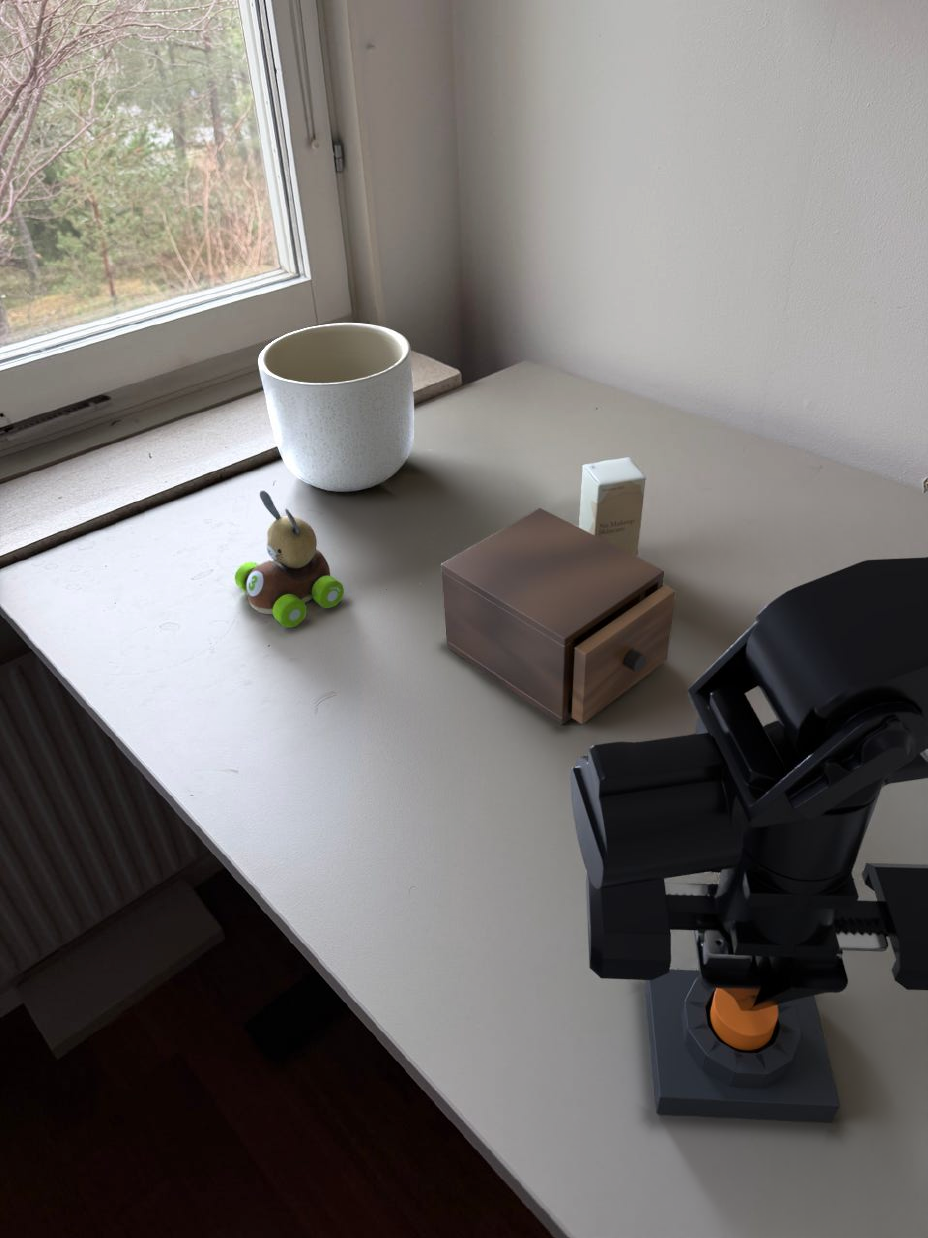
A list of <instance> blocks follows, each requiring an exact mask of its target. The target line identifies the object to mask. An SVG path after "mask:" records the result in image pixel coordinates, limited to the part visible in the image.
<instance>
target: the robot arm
mask: <svg viewBox="0 0 928 1238" xmlns="http://www.w3.org/2000/svg"><path fill="white" fill-rule="evenodd" d="M757 687H758V688H759V689H760V691H761V693H762V695H763V696H764V699H765V700H766V702H767V704H768V705H769V707H770V709H771V710H772V713H773V715H775V717H776V719H777V720H775V721H772V722H770V723H767V724H765V725H764V724H762V721H761V720H760V718H759V717H758V715H757V713H756V711H755V709H754V707H753V706H752V704H751V702H750V700H749V698H748V697H747V695H746V693H748V692H750V691H752V690H753V689H755V688H757ZM686 695H687V697H688V699H689V701H690V704H691V706H692V707H693V710H694V712H695V713H696V714H695V715H697V719H696V726H695V732H694V733H693V734H684V735H677V736H670V737H663V738H655V739H649V740H643V741H613V742H605V743H598V744H593V745H591V746H590V747H589V748H588V755H584V756H579V757H578V758H577V760H576V764H575V766H571V768H570V794H571V795H570V796H571V804H572V813H573V821H574V826H575V831H576V837H577V843H578V847H579V850H580V855H581V858H582V861H583V864H584V868H585V870H586V877H585V890H586V891H585V894H586V896H585V897H586V917H587V918H586V919H587V941H588V942H587V943H588V964H589V969H590V970H591V971H592V972H593V973H594V974H595V975H597V977H599V978H600V979H605V980H606V979H607V980H635V981H646V980H654V979H656V978H658V977H660V976H662V975H665V974H667V973H669V970H670V969H671V963H672V931H693V935H694V943H695V950H696V957H697V965H698V970H699V972H700V978H701V980H702V982H703V983H704V984H705V985H706V986H708V987H710V988H720V989H723V990H724V991H726V992H727V993H728V994H729V995H731V996H732V997H733V998H734V999H735V1001H736V1002H737V1004H738V1006H739V1008H740V1010H741V1011H748V1010H749V1011H758V1010H761V1009H764V1008H768V1007H771V1006H775V1005H778V1004H781V1003H785V1002H789V1001H792V1000H796V999H801V998H805V997H810V996H814V997H815V996H818V995H822V994H828V993H829V994H830V993H832V994H833V993H834V994H837V993H839V994H840V993H842V992H844V991H845V990H846V988H847V986H848V984H849V978H848V974H847V970H846V967H845V964H844V963H845V962H844V960H843V954H844V951H847V952H848V951H849V952H850V951H851V952H876V953H877V952H879V953H880V952H881V953H884V952H886V951H887V950H888V948H889V942H890V946H891V948H892V952H893V954H894V957H895V961H894V963H893V965H892V968H891V973H892V976H893V979H894V982H896V983H897V984H899V986H901V987H903V989H905V990H907V991H927V992H928V864H926V863H925V864H922V863H921V864H920V863H919V864H918V863H885V862H884V863H883V862H865V865H864V867H863V871H862V873H861V877H862V881H863V883H864V885H865V886H867V887H868V888H869V889H871V890H872V891H873V893H874V895H875V898H876V900H859V898H860V896H859V892H858V888H857V886H856V883H855V882H856V881H855V880H854V876H853V870H854V867H855V865H856V861H857V859H858V855H859V853H860V849H861V847H862V845H863V842H864V838H865V836H866V833H867V830H868V827H869V824H870V822H871V819H872V816H873V814H874V811H875V808H876V805H877V802H878V800H879V796H880V794H881V791H882V789H883V788H884V787H886V786H887V785H891V784H898V783H904V782H911V781H917V780H924V779H928V753H927V750H928V556H927V557H908V558H907V557H901V558H881V559H880V558H879V559H878V558H877V559H865V560H862V561H860V562H857V563H855V564H854V563H853V564H852V565H849V566H846V567H844V568H841V569H838V570H836V571H834V572H830V573H828V574H827V575H824V576H820V577H819V578H815V579H812V580H810V581H808V582H805V583H803V584H800V585H798V586H795V587H793V588H791V589H789V590H787V591H785V592H783V593H782V594H781V595H779V596H777V597H775V598H774V599H773V600H772V601H770V602H768V604H766V605H765V606H764V608H763V609H762V610H760V611H759V612H758V613H757V615H756V617H755V622H754V623H753V624H751V626H750V627H748V629H746V631H744V632H743V633H742V634H741V636H739V638H737V640H736V641H734V643H732V644H731V646H729V647H728V649H726V650H725V651H724V652H723V653H722V654H721V655H720V656H719V657H718V658H717V659H716V660H715V662H714V663H712V664H711V665H710V666H709V667H708V668H707V669H706V670H705V671H704V672H703V673H702V674H701V675H700V676H699V677H698V678H697V679H696V680H695V681H694V682H693V683H692V684H691V685H690V686H689V687H688V689H687V690H686ZM703 873H715V874H716V873H719V878H718V883H702V882H701V883H700V882H699V883H698V882H665V879H670V878H672V879H673V878H677V877H678V878H679V877H683V876H690V875H697V874H703ZM888 938H889V940H888ZM888 941H889V942H888Z"/></svg>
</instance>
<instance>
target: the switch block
mask: <svg viewBox="0 0 928 1238" xmlns="http://www.w3.org/2000/svg"><path fill="white" fill-rule="evenodd" d="M716 989H717V988H710V987H708V986H706V985H705V984H704V983H703V982H702V980H701V978H700V972H699V969H697V970H695V969H675V968H673V969H671V968H670V970H669V973H667V974H665V975H662V976H660V977H658V978H656V979H654V980H645V984H644V991H645V992H644V993H645V1001H646V1002H645V1004H646V1015H647V1025H648V1035H649V1036H648V1037H649V1048H650V1049H649V1050H650V1057H651V1058H650V1059H651V1060H650V1061H651V1070H652V1071H651V1072H652V1079H653V1080H652V1081H653V1091H654V1103H655V1113H656V1114H657V1115H665V1116H666V1115H667V1116H668V1115H670V1116H688V1117H708V1118H709V1117H710V1118H726V1119H727V1118H728V1119H747V1120H749V1119H750V1120H769V1121H787V1122H788V1121H790V1122H807V1123H810V1122H811V1123H826V1124H827V1123H828V1124H829V1123H830V1124H832V1123H833V1122H834V1120H835V1118H836V1115H837V1114H838V1112H839V1110H840V1107H841V1103H840V1099H839V1095H838V1090H837V1087H836V1081H835V1079H834V1074H833V1070H832V1065H831V1061H830V1057H829V1052H828V1049H827V1044H826V1040H825V1037H824V1032H823V1028H822V1023H821V1020H820V1014H819V1011H818V1006H817V1002H816V999H815V998H816V997H815V995H814V996H810V997H805V998H801V999H796V1000H792V1001H789V1002H785V1003H781V1004H778V1005H777V1006H778V1019H777V1022H776V1025H775V1028H774V1031H773V1034H772V1037H771V1039H770V1040H769V1042H768V1043H767V1044H766V1045H764V1046H763V1047H761V1048H759V1049H756V1050H740V1049H737V1048H734V1047H732V1046H730V1045H728V1044H727V1043H725V1042H724V1041H723V1040H722V1039H721V1038H720V1037H719V1036H718V1035H717V1033H716V1032H715V1030H714V1028H713V1026H712V1023H711V1019H710V1011H711V1007H712V1003H713V999H714V994H715V991H716Z"/></svg>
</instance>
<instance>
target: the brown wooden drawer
mask: <svg viewBox="0 0 928 1238" xmlns="http://www.w3.org/2000/svg"><path fill="white" fill-rule="evenodd" d="M645 594H646V591H644V592H643V593H641V594H640V595H638V596H637V597H636V598H634V599H633V600H631V601H630V602H628V603H627V604H625V605H624V606H623V607H621V608H620V609H618V610H617V611H615V612H614V613H612V614H611V615H609V616H608V617H607V618H605V619H604V620H602V621H601V622H599V623H598V624H596V625H595V626H594V627H592V628H591V629H589V630H588V631H586V632H585V633H583V634H582V635H580V636H579V637H578V638H576V639H575V640H573V641H572V642H571V653H570V678H569V700H570V699H571V698H573V699H572V718H571V719H573V720H574V721H576V722H578V723H579V724H580V725H584V724H585V723H586V722H588V721H589V720H590V719H591V718H593V717H594V716H596V715H597V714H598V713H599V712H601V711H602V710H603V709H605V708H606V707H608V705H610V704H611V703H613V701H615V700H616V699H617V698H619V697H620V696H621V695H623V694H624V693H626V692H627V691H628V690H630V689H631V688H632V687H633V686H635V685H636V684H638V683H639V682H640V681H641V680H642V679H643V678H645V677H646V676H648V675H649V674H650V673H652V672H653V671H654V670H656V668H659V667H660V666H661V665H662V664H664V663H665V662H666V661H667V660H668V656H669V655H668V654H669V646H670V640H671V639H670V638H671V632H672V631H671V630H672V622H673V614H674V607H675V598H676V590H675V589H673V588H671V587H670V586H667V585H665V584H663V586H662V587H661V588H659V589H658V590H657V591H655V592H654V593H652V594H651V595H649V596H648V597H647V598H645Z"/></svg>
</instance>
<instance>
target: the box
mask: <svg viewBox="0 0 928 1238" xmlns="http://www.w3.org/2000/svg"><path fill="white" fill-rule="evenodd" d="M637 465H638V464H636V463H635V462H634V461H633V459H632V458H631V457H628V456H627V457H621V458H615V459H606V460H602V461H597V462H591V463H586V464H585V463H584V464H583V465H582V470H581V472H582V473H581V475H582V476H581V485H580V486H581V488H580V502H579V503H580V504H579V519H578V527H579V528H581V529H583V530H585V531H587V532H589V533H591V534H593V535H595V536H597V537H599V538H601V539H603V540H605V541H607V542H609V543H611V544H613V545H615V546H616V547H618V548H620V549H622V550H624V551H626V552H628V553H630V554H632V555H634V556H636V557H638V551H639V541H640V534H641V525H642V516H643V507H644V506H643V505H644V498H645V489H646V479H647V477H646V476H645V474H644V473H643V471H642V470H641V469H640V468H639V466H637Z"/></svg>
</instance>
